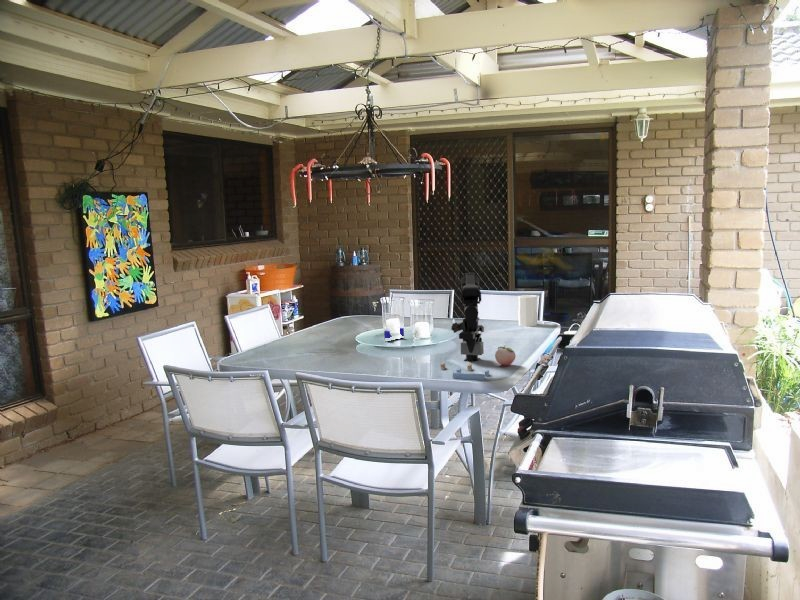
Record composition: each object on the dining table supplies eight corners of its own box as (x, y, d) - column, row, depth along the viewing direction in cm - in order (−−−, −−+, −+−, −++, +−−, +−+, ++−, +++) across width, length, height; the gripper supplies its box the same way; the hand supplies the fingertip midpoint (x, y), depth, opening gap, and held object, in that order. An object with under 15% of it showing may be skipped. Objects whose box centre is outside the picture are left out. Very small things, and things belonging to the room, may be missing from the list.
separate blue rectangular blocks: (458, 373, 274) (458, 368, 274) (489, 375, 269) (489, 369, 268) (452, 378, 266) (452, 372, 266) (484, 380, 261) (484, 374, 261)
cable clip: (399, 337, 362) (398, 327, 361) (404, 338, 358) (403, 328, 357) (383, 340, 354) (382, 330, 353) (388, 341, 351) (387, 331, 350)
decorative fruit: (491, 367, 283) (490, 345, 282) (501, 363, 289) (500, 342, 288) (509, 370, 277) (508, 348, 275) (518, 366, 283) (518, 344, 281)
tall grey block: (463, 352, 272) (463, 341, 272) (483, 353, 269) (483, 342, 268) (460, 354, 269) (460, 343, 268) (481, 355, 265) (480, 343, 265)
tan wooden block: (442, 368, 285) (442, 362, 285) (471, 369, 280) (471, 364, 280) (440, 369, 282) (440, 364, 282) (470, 371, 277) (469, 365, 277)
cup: (538, 324, 383) (538, 295, 380) (535, 328, 372) (535, 297, 370) (520, 324, 387) (519, 294, 384) (517, 327, 376) (516, 297, 374)
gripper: (459, 312, 278) (460, 346, 280) (446, 319, 261) (447, 355, 263) (483, 312, 274) (484, 347, 276) (472, 319, 257) (473, 356, 259)
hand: (472, 351), depth 269 cm, fingers closed on tall grey block, 4 cm apart
